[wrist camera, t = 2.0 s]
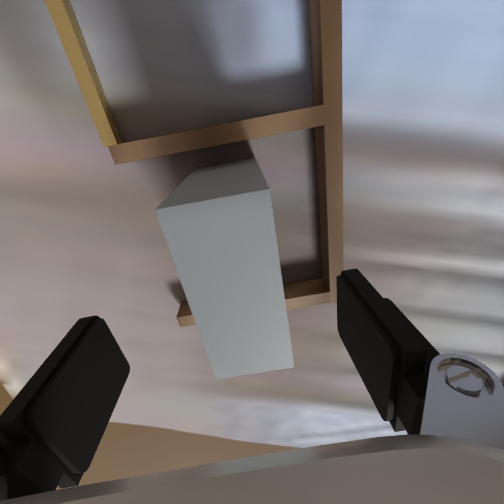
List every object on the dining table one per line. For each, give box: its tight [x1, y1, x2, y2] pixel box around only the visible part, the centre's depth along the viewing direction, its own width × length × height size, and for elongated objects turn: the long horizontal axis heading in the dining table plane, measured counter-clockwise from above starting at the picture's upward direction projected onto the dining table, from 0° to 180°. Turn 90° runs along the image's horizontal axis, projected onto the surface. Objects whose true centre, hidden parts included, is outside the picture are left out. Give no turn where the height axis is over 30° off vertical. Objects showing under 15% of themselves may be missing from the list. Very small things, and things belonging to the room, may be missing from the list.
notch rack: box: [45, 0, 343, 327], centre depth 15 cm, size 14×26×3 cm, turn 10°
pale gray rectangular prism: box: [155, 158, 294, 379], centre depth 15 cm, size 4×9×9 cm, turn 10°
